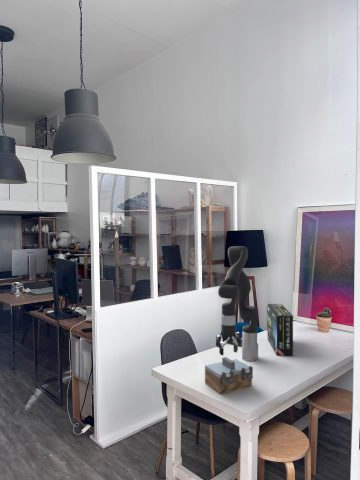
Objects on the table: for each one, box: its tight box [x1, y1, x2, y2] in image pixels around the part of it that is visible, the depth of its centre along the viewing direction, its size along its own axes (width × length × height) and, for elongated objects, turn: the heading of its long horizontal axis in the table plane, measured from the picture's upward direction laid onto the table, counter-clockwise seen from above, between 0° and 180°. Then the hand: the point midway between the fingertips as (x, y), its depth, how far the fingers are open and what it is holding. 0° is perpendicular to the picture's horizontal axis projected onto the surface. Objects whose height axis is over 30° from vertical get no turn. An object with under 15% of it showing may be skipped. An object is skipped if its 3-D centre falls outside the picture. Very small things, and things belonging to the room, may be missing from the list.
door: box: [204, 356, 250, 378], centre depth 189 cm, size 20×16×5 cm
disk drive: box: [223, 337, 242, 348], centre depth 259 cm, size 10×3×15 cm
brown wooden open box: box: [204, 365, 254, 395], centre depth 189 cm, size 20×16×11 cm
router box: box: [266, 303, 294, 357], centre depth 249 cm, size 36×11×27 cm, turn 177°
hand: (228, 353), depth 189 cm, fingers open, 8 cm apart
